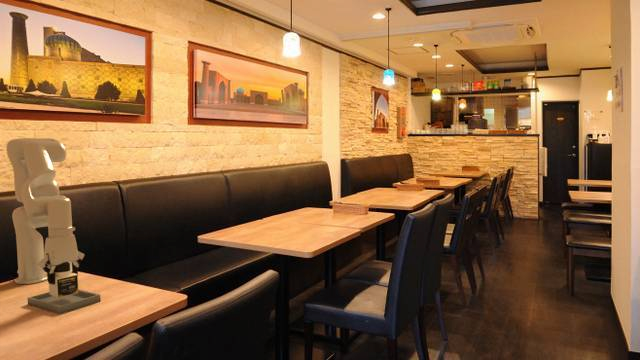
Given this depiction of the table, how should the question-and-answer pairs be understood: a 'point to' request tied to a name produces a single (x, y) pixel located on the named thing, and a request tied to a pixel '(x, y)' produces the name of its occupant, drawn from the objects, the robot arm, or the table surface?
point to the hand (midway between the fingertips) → (63, 280)
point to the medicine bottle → (64, 281)
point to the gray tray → (63, 301)
